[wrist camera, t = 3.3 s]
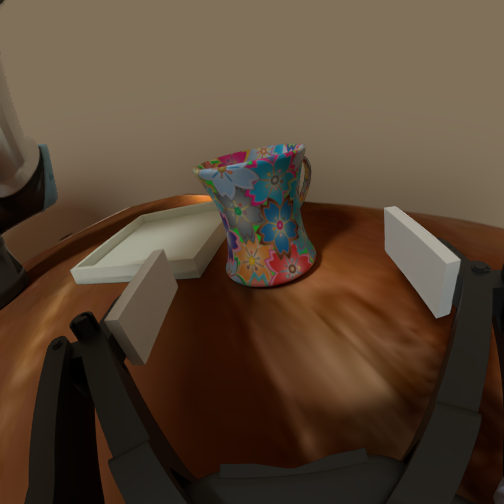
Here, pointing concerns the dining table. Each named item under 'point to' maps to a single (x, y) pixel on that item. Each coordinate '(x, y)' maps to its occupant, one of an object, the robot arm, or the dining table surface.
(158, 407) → the dining table surface
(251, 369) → the dining table surface
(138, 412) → the robot arm
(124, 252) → the tray
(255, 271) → the mug
